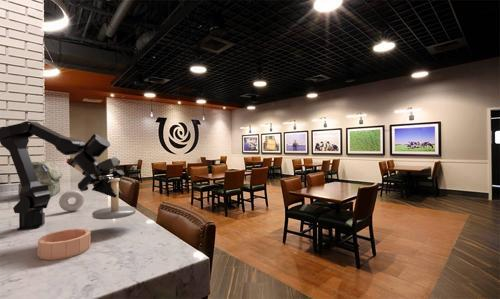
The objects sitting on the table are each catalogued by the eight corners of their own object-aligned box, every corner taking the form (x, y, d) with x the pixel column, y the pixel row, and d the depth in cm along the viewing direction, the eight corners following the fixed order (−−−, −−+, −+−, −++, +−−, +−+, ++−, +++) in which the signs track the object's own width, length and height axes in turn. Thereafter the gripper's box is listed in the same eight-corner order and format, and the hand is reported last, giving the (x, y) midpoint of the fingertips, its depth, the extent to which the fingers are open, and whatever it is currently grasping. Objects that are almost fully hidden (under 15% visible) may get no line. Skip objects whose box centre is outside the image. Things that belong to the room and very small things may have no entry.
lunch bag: (53, 197, 152) (53, 161, 152) (14, 200, 145) (14, 162, 144) (64, 190, 176) (63, 159, 176) (31, 192, 168) (30, 160, 168)
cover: (88, 221, 83) (88, 182, 83) (96, 211, 96) (96, 177, 96) (134, 216, 89) (134, 180, 89) (136, 208, 102) (136, 175, 101)
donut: (59, 213, 114) (59, 192, 114) (58, 212, 117) (58, 191, 117) (85, 210, 121) (85, 189, 121) (83, 208, 124) (83, 188, 123)
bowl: (33, 252, 72) (33, 236, 72) (81, 240, 82) (80, 226, 81) (46, 264, 65) (45, 246, 65) (96, 249, 74) (96, 234, 74)
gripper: (85, 150, 83) (117, 184, 82) (119, 150, 102) (145, 177, 101) (63, 174, 84) (94, 207, 83) (101, 169, 103) (127, 196, 102)
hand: (118, 196), depth 92 cm, fingers closed on cover, 2 cm apart
